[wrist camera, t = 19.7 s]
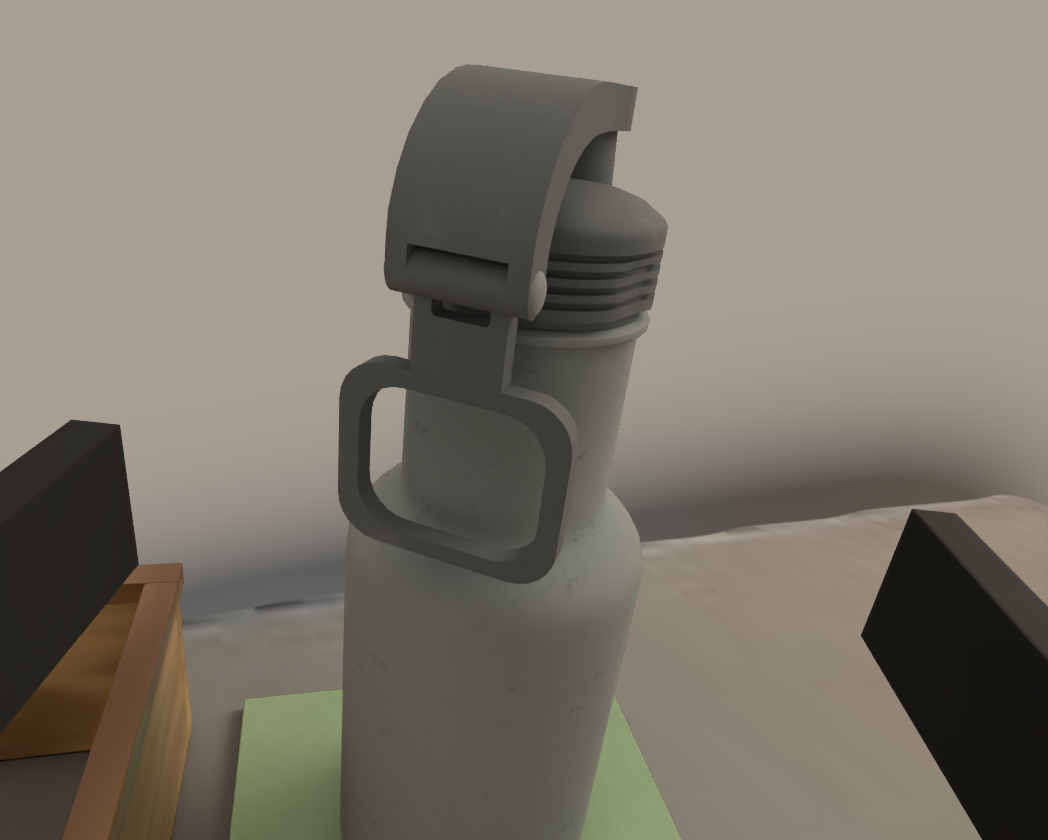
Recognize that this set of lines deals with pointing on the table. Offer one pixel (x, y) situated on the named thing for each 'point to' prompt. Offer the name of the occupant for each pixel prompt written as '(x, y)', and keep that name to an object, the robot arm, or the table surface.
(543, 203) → the water bottle
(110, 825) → the wooden box
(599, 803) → the desk mat
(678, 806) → the table surface
